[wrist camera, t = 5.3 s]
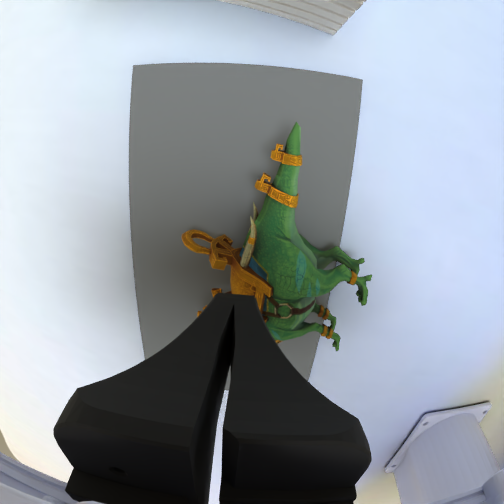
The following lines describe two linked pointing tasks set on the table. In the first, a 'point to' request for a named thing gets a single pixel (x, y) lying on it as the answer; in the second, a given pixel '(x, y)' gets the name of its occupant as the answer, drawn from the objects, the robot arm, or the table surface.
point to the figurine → (282, 257)
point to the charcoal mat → (228, 178)
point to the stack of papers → (307, 11)
